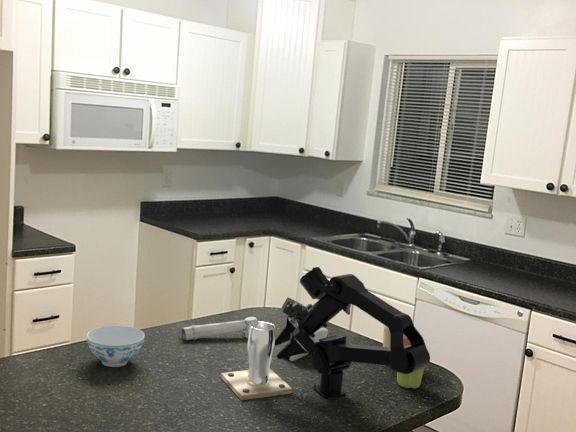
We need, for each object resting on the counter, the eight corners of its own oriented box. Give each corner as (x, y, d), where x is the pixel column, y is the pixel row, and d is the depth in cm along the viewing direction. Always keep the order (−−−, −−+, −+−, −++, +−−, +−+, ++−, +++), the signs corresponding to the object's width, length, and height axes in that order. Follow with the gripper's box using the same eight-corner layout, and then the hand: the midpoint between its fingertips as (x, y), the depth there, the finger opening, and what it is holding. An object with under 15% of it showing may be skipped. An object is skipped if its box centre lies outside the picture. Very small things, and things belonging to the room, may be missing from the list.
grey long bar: (180, 325, 195) (257, 311, 204) (181, 345, 196) (258, 331, 205) (183, 330, 190) (262, 316, 199) (185, 351, 191) (263, 336, 200)
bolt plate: (291, 393, 162) (292, 387, 162) (241, 400, 156) (241, 394, 156) (268, 371, 175) (268, 366, 174) (220, 377, 168) (221, 372, 168)
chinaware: (132, 349, 182) (133, 323, 181) (151, 368, 170) (153, 340, 169) (78, 356, 174) (79, 328, 173) (95, 377, 162) (96, 348, 161)
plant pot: (384, 383, 174) (388, 352, 173) (402, 374, 181) (405, 345, 180) (414, 394, 168) (418, 363, 167) (431, 385, 175) (435, 355, 174)
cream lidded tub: (390, 370, 184) (395, 330, 182) (373, 358, 192) (378, 319, 190) (417, 367, 187) (422, 328, 185) (399, 355, 196) (404, 318, 194)
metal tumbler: (240, 376, 167) (245, 322, 164) (265, 374, 169) (270, 320, 167) (249, 388, 160) (254, 331, 158) (275, 385, 163) (280, 329, 161)
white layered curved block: (308, 342, 200) (320, 316, 197) (320, 351, 198) (332, 325, 195) (278, 356, 186) (290, 328, 183) (290, 366, 184) (303, 338, 181)
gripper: (298, 279, 171) (253, 316, 172) (307, 300, 153) (257, 342, 154) (324, 309, 173) (280, 345, 174) (336, 333, 155) (287, 374, 156)
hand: (276, 350), depth 164 cm, fingers open, 9 cm apart
